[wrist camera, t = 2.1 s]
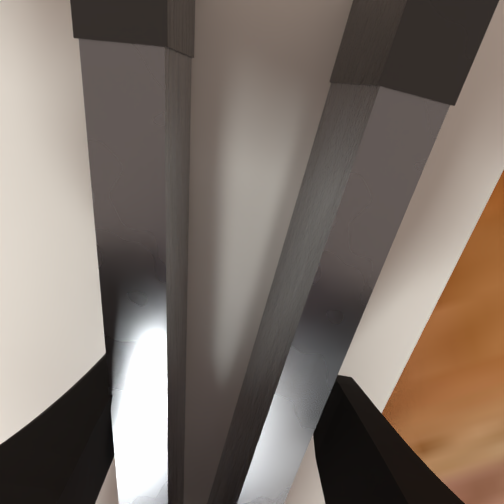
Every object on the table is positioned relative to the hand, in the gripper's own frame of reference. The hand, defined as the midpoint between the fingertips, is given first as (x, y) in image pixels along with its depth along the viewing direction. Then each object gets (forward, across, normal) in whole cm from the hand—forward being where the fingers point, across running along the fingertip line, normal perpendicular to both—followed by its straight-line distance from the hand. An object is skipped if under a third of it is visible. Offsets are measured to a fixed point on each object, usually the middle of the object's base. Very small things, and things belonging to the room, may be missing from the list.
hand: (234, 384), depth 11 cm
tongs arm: (+1, +2, -1) cm, 3 cm away
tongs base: (+1, 0, 0) cm, 1 cm away
